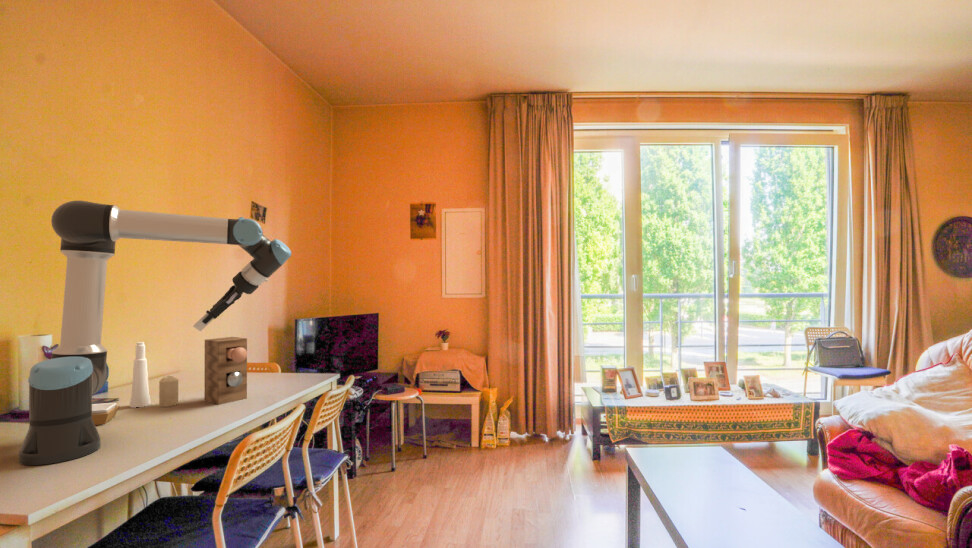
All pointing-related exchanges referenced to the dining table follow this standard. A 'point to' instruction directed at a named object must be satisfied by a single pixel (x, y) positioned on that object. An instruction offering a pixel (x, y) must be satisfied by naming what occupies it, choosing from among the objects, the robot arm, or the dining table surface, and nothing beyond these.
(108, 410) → the soap dish
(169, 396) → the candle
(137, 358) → the cosmetic bottle
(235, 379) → the steel plug
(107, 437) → the dining table surface
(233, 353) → the terracotta plug
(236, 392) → the socket block
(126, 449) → the dining table surface
